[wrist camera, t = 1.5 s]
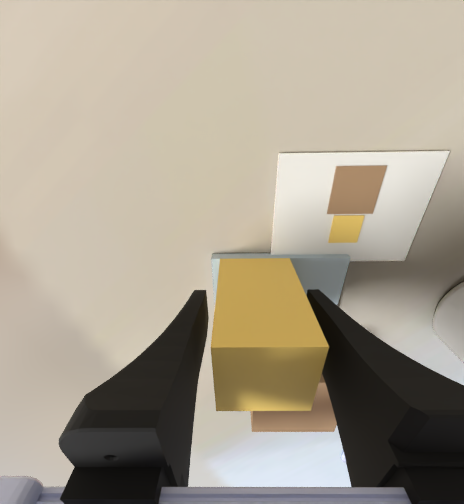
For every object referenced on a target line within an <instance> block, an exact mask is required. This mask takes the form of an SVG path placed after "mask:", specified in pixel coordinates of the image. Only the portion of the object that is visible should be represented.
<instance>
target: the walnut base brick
mask: <svg viewBox="0 0 464 504" xmlns="http://www.w3.org/2000/svg"><path fill="white" fill-rule="evenodd" d="M251 425H252V432H334V430H335V428H336V425H337V422H336V419H335V415H334V411H333V408H332V404H331V400H330V397H329V393H328V390H327V387H326V383H325V380H324V378H323V375H322V374H321V377H320V380H319V384H318V387H317V391H316V394H315V398H314V401H313V405H312V408H311V411H251Z"/></svg>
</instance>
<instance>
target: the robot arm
mask: <svg viewBox="0 0 464 504" xmlns="http://www.w3.org/2000/svg"><path fill="white" fill-rule="evenodd" d="M306 296H307V298H308V301H309V303H310V305H311V307H312V310H313V312H314V314H315V316H316V319H317V321H318V323H319V325H320V327H321V330H322V332H323V334H324V336H325V339H326V341H327V343H328V345H329V349H328V353H327V356H326V360H325V363H324V367H323V370H322V375H323V378H324V380H325V383H326V387H327V390H328V393H329V397H330V400H331V404H332V408H333V411H334V415H335V419H336V422H337V426H338V430H339V434H340V438H341V442H342V446H343V450H344V452H343V454H342V456H341V460H342V461H343V462H346V464H347V468H348V472H349V477H350V481H351V486H352V487H188V478H189V467H190V455H191V444H192V433H193V422H194V412H195V402H196V393H197V384H198V378H199V372H200V367H201V362H202V357H203V352H204V347H205V342H206V337H207V329H208V307H207V296H206V290H195V291H194V292H193V293H192V295H191V296H190V298H189V299H188V301H187V302H186V304H185V305H184V307H183V308H182V310H181V311H180V312H179V314H178V315H177V316H176V318H175V319H174V320H173V321H172V322H171V324H170V325H169V326H168V327H167V328H166V330H165V331H164V332H163V333H162V334H161V335H160V336H159V337H158V338H157V339H156V340H155V341H154V342H153V343H152V344H151V345H150V346H149V347H148V348H147V349H146V350H145V351H144V352H143V353H142V354H141V355H139V356H138V357H137V358H136V359H135V360H134V361H132V362H131V363H130V364H129V365H127V366H126V367H125V368H123V369H122V370H121V371H120V372H118V373H117V374H116V375H114V376H113V377H112V378H110V379H109V380H107V381H106V382H104V383H103V384H101V385H100V386H98V387H97V388H95V389H94V390H93V391H91V392H89V393H88V394H86V395H85V396H84V398H83V400H82V401H81V402H80V404H79V405H78V407H77V408H76V410H75V412H74V414H73V415H72V417H71V419H70V421H69V422H68V424H67V426H66V428H65V430H64V431H63V433H62V435H61V437H60V438H59V447H60V449H61V450H62V452H63V453H64V454H65V456H66V457H67V458H68V459H69V460H70V462H71V463H72V464H73V465H74V466H75V468H74V470H73V472H72V474H71V476H70V478H69V480H68V483H67V485H66V487H43V484H42V483H41V482H40V481H39V480H38V479H36V478H32V477H28V476H0V504H464V385H461V384H459V383H457V382H455V381H453V380H451V379H448V378H446V377H444V376H442V375H440V374H439V373H437V372H435V371H433V370H431V369H429V368H427V367H425V366H423V365H421V364H420V363H418V362H416V361H414V360H412V359H411V358H409V357H407V356H406V355H404V354H402V353H401V352H399V351H397V350H396V349H394V348H392V347H391V346H389V345H388V344H386V343H385V342H383V341H382V340H380V339H379V338H377V337H376V336H374V335H373V334H372V333H370V332H369V331H367V330H366V329H365V328H364V327H362V326H361V325H360V324H358V323H357V322H356V321H355V320H353V319H352V318H351V317H350V316H348V315H347V314H346V313H345V312H344V311H343V310H341V309H340V308H339V307H338V306H337V305H336V304H335V303H334V302H332V301H331V300H330V299H329V298H328V297H327V296H326V295H325V294H324V293H322V292H321V291H320V290H319V289H308V290H307V295H306Z"/></svg>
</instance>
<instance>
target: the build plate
mask: <svg viewBox="0 0 464 504" xmlns="http://www.w3.org/2000/svg"><path fill="white" fill-rule="evenodd" d="M239 258H290V260H291V262H292V265H293V267H294V269H295V271H296V274H297V276H298V278H299V280H300V283H301V285H302V287H303V289H304V292H305V294H306V295H307V290H308V289H319V290H320V291H321V292H322V293H324V294H325V295H326V296H327V297H328V298H329V299H330V300H331V301H332V302H334V303H335V304H336V305H338V302H339V298H340V294H341V291H342V287H343V284H344V280H345V276H346V273H347V269H348V266H349V262H350V258H351V257H350V256H349V255H348V254H306V255H271V253H237V254H212V258H211V260H212V275H213V290H214V305H215V302H216V293H217V283H218V274H219V264H220V259H239Z"/></svg>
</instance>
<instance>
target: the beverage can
mask: <svg viewBox="0 0 464 504" xmlns="http://www.w3.org/2000/svg"><path fill="white" fill-rule="evenodd" d="M432 326H433V330H434V332H435V334H436V336H437V337H438V338H439V339H440V340H441V341H442V342H443V343H444V344H445V345H446V346H447V347H448V348H449V349H450V350H451V351H452V352H453V353H454V354H455V355H456V356H457V357H458V358H459V359H460V360H461V361H462V362H463V363H464V282H462V283H460V284H459V285H457V286H456V287H454V288H453V289H452V290H450V291H449V292H448V293H447V294H446V295H445V296H444V297H443V298H442V300H441V301H440V302H439V304H438V306H437V308H436V311H435V314H434V317H433V323H432Z"/></svg>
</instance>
